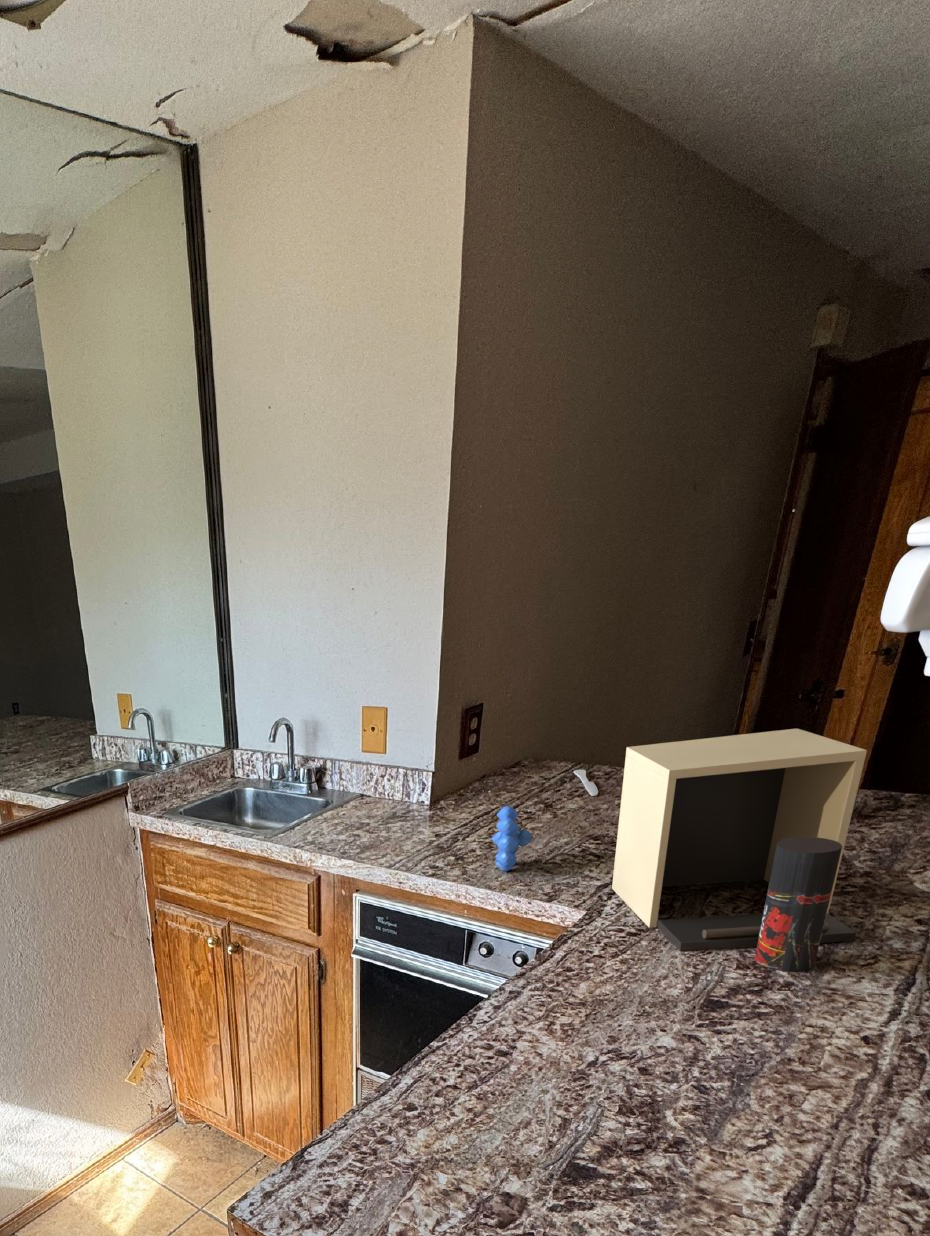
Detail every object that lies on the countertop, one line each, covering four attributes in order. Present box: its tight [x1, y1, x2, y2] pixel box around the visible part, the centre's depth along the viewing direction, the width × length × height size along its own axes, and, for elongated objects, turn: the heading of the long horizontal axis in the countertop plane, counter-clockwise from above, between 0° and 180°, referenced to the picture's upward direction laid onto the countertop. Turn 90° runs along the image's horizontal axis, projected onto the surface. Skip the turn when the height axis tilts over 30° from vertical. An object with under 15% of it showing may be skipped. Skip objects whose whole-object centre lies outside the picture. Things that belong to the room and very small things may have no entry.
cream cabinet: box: [611, 728, 868, 952], centre depth 106 cm, size 22×24×22 cm
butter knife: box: [573, 769, 599, 797], centre depth 178 cm, size 1×24×3 cm
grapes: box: [491, 805, 535, 872], centre depth 134 cm, size 12×7×12 cm, turn 161°
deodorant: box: [754, 837, 842, 973], centre depth 93 cm, size 6×6×15 cm
